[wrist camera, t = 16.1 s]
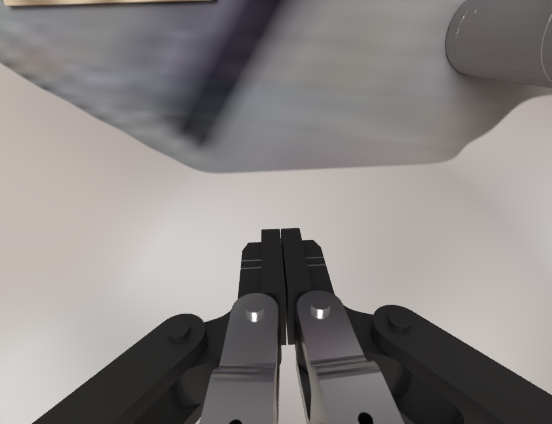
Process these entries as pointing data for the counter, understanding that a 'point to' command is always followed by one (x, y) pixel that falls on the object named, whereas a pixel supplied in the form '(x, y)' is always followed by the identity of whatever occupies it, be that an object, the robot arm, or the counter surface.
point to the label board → (78, 2)
